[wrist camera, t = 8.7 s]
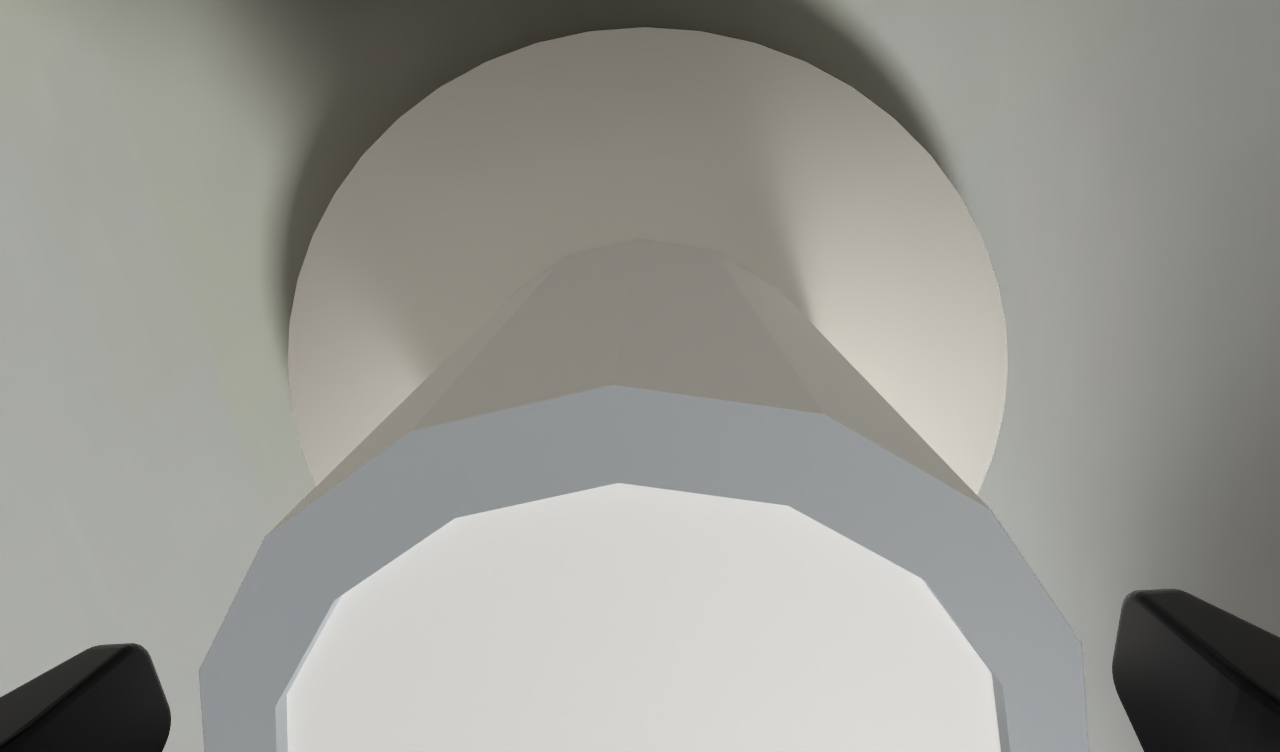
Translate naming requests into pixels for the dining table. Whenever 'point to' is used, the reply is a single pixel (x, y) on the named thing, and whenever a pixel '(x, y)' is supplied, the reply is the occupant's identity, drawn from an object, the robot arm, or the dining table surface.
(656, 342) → the shot glass
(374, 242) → the saucer
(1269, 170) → the dining table surface
